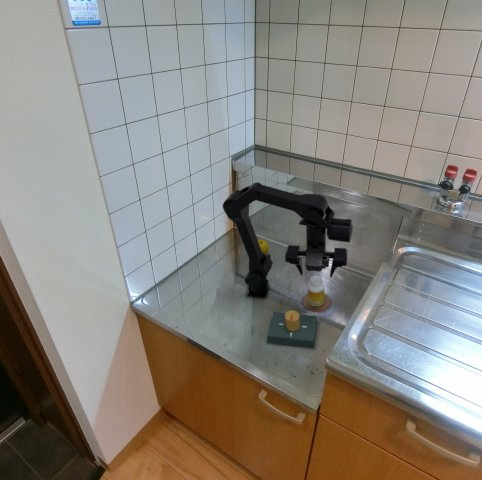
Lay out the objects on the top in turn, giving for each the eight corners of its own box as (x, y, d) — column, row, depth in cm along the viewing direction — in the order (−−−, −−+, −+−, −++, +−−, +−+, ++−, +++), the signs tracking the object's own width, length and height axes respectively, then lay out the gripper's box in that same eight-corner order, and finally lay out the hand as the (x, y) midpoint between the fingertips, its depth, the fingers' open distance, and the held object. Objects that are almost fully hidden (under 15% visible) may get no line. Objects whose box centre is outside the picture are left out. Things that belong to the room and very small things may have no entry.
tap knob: (286, 319, 118) (286, 308, 115) (300, 320, 117) (300, 310, 114) (284, 330, 114) (283, 319, 112) (298, 331, 113) (298, 321, 110)
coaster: (301, 310, 124) (301, 309, 124) (304, 291, 131) (304, 290, 131) (328, 313, 122) (328, 312, 122) (330, 294, 129) (330, 292, 129)
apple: (265, 262, 147) (263, 246, 142) (251, 258, 150) (249, 242, 145) (272, 253, 151) (271, 237, 146) (258, 249, 154) (257, 234, 149)
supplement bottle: (323, 307, 124) (323, 285, 118) (307, 305, 125) (306, 284, 119) (324, 295, 128) (324, 274, 122) (308, 294, 129) (308, 273, 124)
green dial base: (268, 342, 115) (267, 335, 113) (274, 318, 123) (273, 311, 121) (313, 347, 112) (313, 340, 110) (316, 322, 120) (316, 315, 118)
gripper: (280, 250, 107) (283, 290, 116) (347, 254, 102) (345, 295, 111) (286, 229, 115) (289, 267, 124) (348, 231, 111) (346, 271, 120)
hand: (316, 275), depth 120 cm, fingers open, 9 cm apart
